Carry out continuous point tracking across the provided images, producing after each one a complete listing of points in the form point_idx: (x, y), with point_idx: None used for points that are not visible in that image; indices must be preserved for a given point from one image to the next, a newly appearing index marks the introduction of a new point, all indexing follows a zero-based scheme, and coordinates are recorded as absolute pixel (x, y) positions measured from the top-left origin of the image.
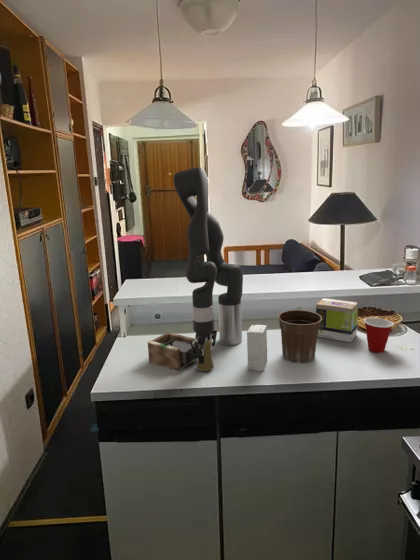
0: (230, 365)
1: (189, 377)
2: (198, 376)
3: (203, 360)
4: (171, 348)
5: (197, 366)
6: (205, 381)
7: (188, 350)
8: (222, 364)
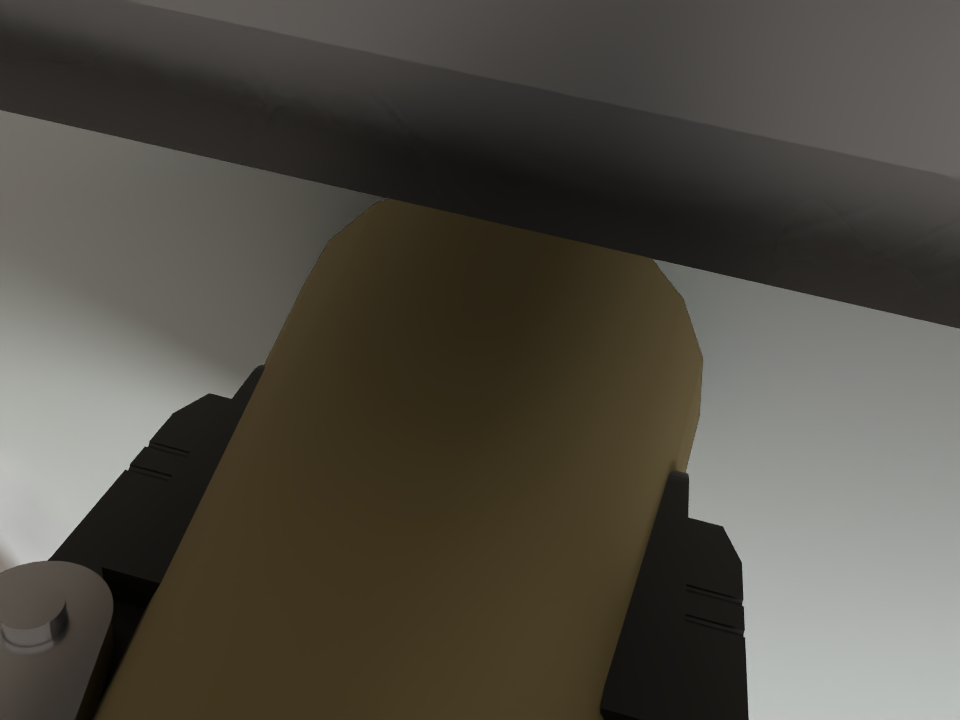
0: (821, 716)
1: (21, 145)
2: (163, 308)
3: None
4: None
5: (346, 242)
6: (92, 470)
7: (80, 56)
8: (837, 597)
